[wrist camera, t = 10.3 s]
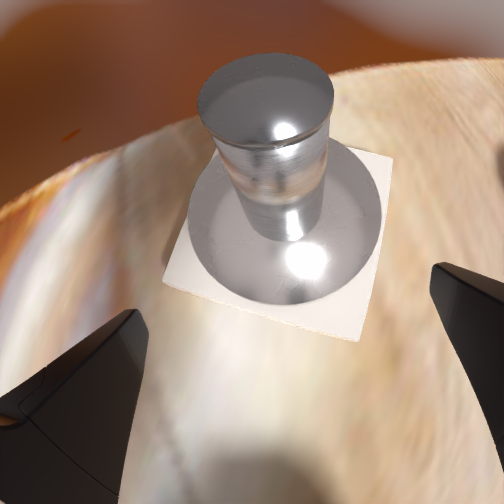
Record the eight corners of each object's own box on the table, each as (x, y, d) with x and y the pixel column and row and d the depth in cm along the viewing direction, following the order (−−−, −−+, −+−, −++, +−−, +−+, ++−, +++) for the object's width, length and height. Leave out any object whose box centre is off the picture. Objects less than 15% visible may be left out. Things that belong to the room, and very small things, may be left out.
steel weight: (339, 205, 19) (361, 89, 10) (282, 259, 19) (260, 168, 9) (283, 158, 21) (266, 40, 11) (228, 206, 20) (173, 100, 11)
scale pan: (383, 160, 24) (392, 135, 20) (349, 332, 20) (358, 329, 17) (239, 131, 27) (231, 105, 23) (179, 282, 23) (159, 271, 20)
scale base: (386, 173, 24) (393, 157, 21) (352, 341, 20) (358, 341, 18) (233, 141, 27) (227, 124, 25) (174, 288, 24) (161, 281, 21)
